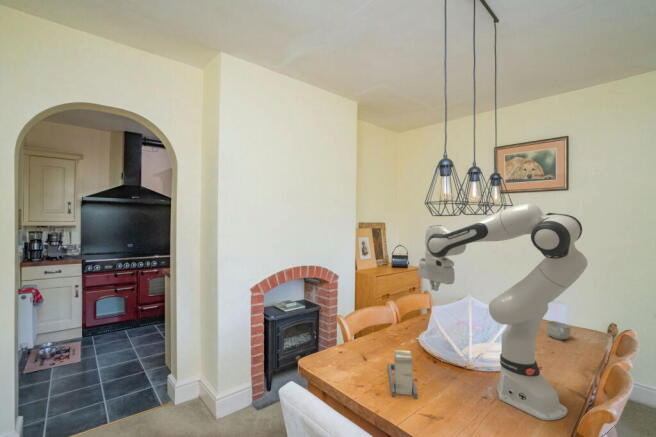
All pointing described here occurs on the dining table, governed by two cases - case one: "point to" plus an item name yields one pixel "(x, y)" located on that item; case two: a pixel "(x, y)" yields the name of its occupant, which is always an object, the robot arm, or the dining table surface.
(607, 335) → the dining table surface
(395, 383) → the cream block
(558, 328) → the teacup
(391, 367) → the chute
